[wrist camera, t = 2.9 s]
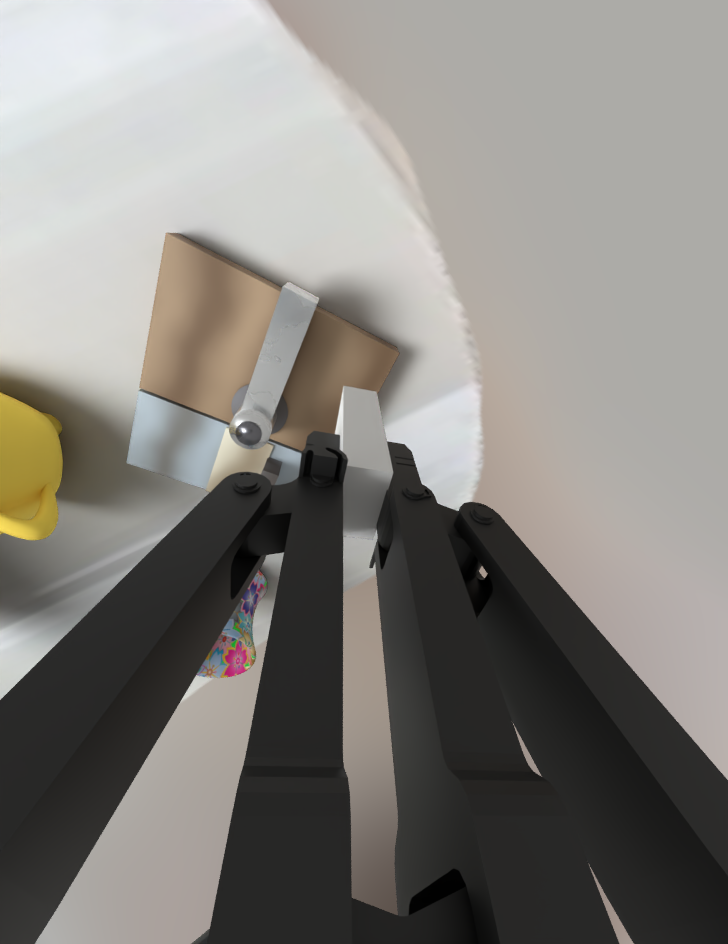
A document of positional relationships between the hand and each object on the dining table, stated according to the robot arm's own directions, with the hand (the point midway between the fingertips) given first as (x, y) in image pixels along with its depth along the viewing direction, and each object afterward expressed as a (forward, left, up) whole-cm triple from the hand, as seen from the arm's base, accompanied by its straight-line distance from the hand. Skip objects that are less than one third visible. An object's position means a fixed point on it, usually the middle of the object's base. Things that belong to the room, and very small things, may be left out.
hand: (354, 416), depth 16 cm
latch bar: (-5, -5, -15) cm, 16 cm away
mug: (-1, -36, -18) cm, 40 cm away
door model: (-5, -9, -18) cm, 21 cm away
